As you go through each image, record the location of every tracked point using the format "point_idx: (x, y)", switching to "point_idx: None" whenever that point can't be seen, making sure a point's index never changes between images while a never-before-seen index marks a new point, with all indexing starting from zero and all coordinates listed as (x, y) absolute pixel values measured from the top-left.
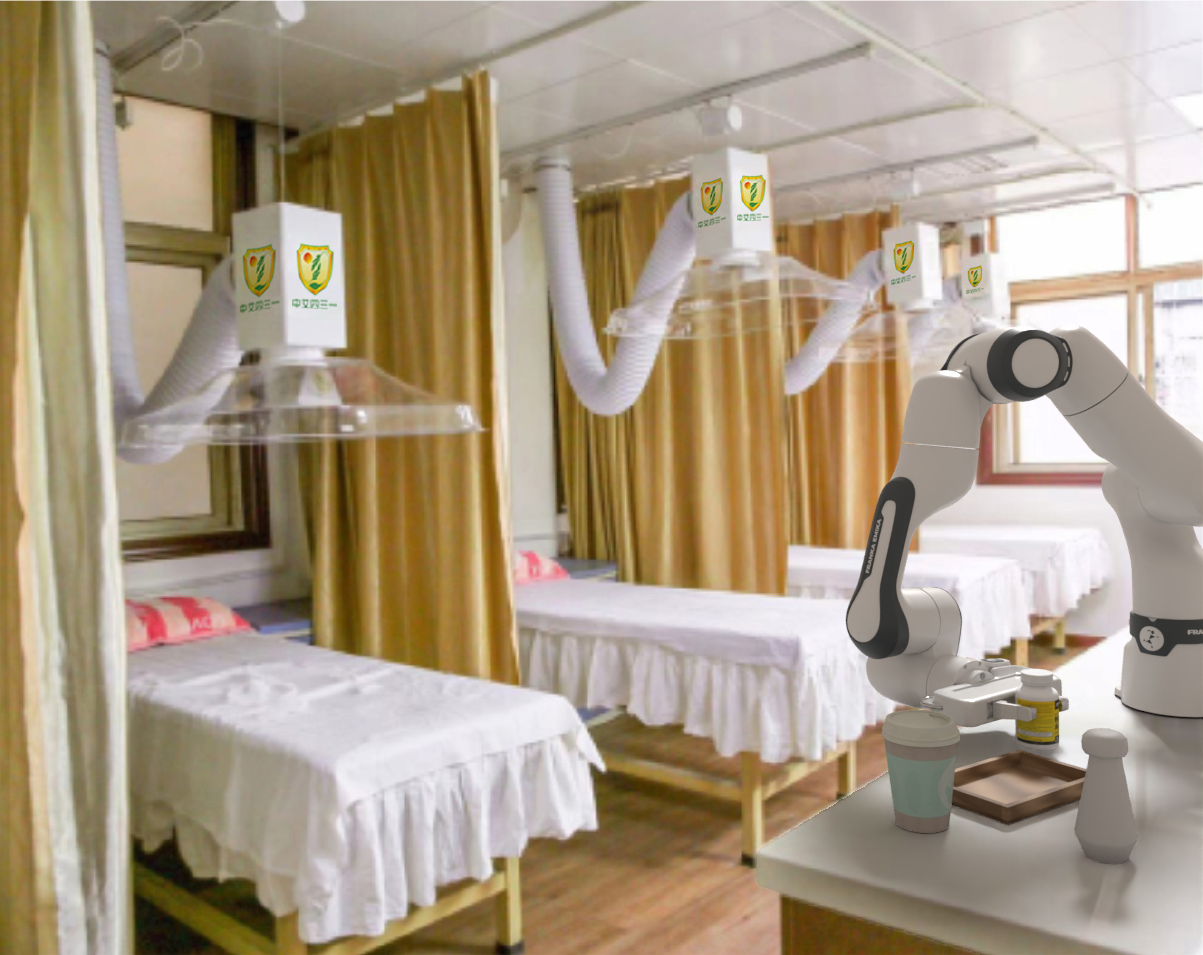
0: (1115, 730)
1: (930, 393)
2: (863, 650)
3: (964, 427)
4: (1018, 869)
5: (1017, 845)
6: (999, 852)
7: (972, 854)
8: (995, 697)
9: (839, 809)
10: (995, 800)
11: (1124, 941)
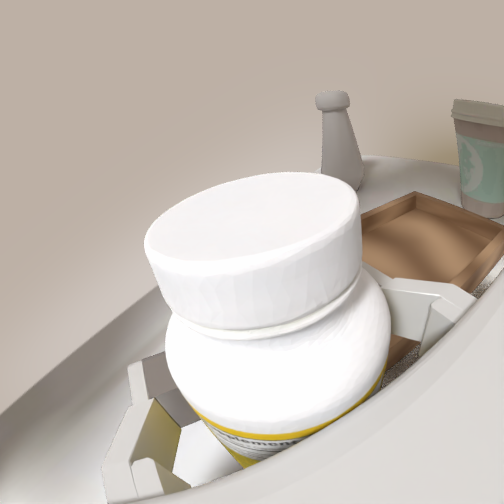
0: (320, 93)
1: None
2: None
3: None
4: (405, 177)
5: (406, 191)
6: (418, 186)
7: (435, 184)
8: (481, 296)
9: None
10: (427, 198)
11: (362, 156)
